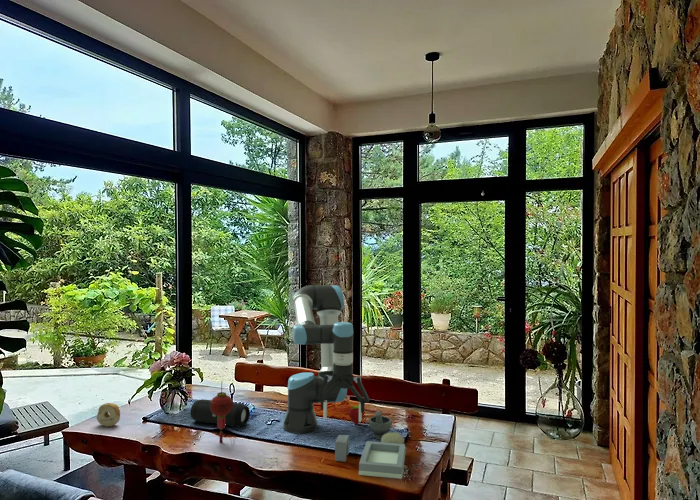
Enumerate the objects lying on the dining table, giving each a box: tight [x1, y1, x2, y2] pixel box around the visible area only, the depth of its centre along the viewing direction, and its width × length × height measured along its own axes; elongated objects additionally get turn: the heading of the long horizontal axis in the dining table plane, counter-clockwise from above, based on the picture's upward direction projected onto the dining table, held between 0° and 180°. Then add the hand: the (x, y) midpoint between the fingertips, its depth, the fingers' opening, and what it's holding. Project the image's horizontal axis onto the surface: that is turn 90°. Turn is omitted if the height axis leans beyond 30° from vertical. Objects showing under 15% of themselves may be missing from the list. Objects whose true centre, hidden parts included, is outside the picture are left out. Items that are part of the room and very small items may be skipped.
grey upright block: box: [334, 434, 350, 462], centre depth 178 cm, size 4×7×7 cm, turn 170°
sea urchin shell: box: [380, 431, 405, 444], centre depth 189 cm, size 9×8×8 cm
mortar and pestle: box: [368, 410, 393, 440], centre depth 198 cm, size 11×9×12 cm
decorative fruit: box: [348, 402, 366, 426], centre depth 212 cm, size 6×8×10 cm
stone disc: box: [96, 402, 121, 427], centre depth 208 cm, size 10×4×10 cm, turn 79°
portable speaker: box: [189, 398, 251, 427], centre depth 212 cm, size 26×10×10 cm, turn 74°
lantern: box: [210, 382, 234, 444], centre depth 190 cm, size 10×10×30 cm
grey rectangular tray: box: [358, 440, 406, 480], centre depth 172 cm, size 15×20×4 cm
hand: (342, 419), depth 177 cm, fingers open, 13 cm apart
